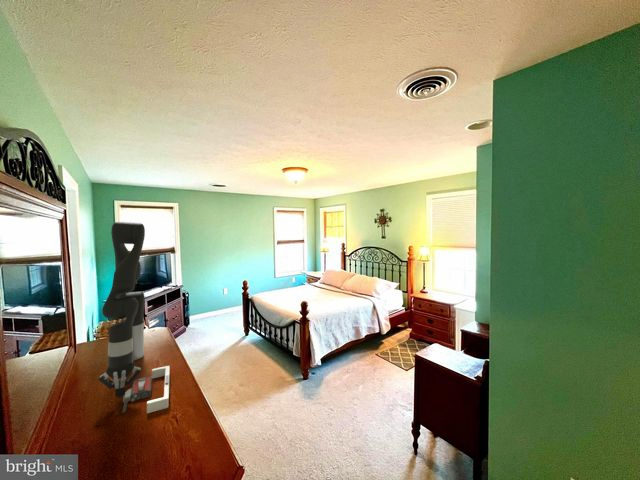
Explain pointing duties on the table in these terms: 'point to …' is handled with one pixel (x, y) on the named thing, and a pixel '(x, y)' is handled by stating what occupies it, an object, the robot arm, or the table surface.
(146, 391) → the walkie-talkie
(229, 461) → the table surface
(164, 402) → the white c-shaped bracket
